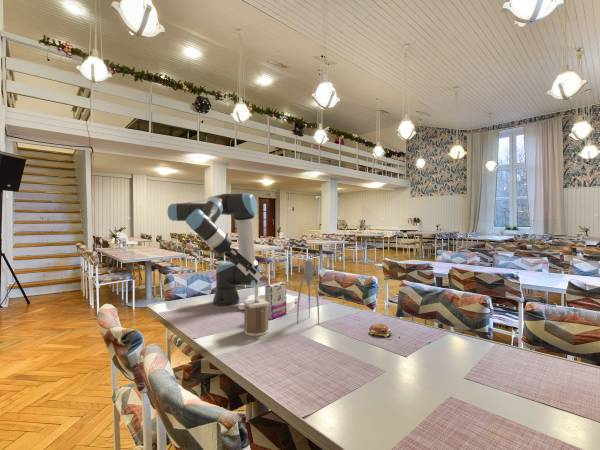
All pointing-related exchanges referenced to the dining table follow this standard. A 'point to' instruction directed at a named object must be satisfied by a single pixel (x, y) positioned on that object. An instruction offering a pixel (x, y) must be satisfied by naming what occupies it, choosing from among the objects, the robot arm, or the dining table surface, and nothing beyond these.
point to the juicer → (308, 277)
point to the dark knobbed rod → (256, 286)
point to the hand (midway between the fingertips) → (253, 275)
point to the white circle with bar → (289, 299)
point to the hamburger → (380, 330)
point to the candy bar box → (276, 299)
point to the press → (256, 317)
